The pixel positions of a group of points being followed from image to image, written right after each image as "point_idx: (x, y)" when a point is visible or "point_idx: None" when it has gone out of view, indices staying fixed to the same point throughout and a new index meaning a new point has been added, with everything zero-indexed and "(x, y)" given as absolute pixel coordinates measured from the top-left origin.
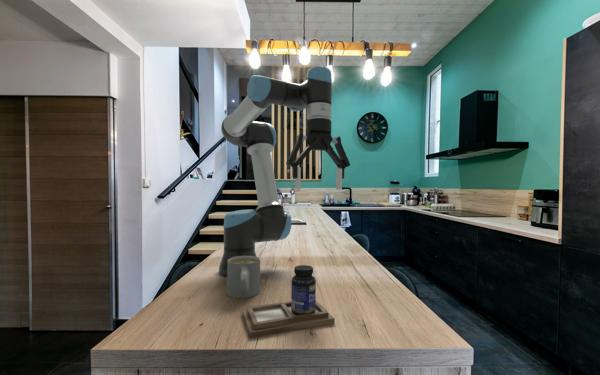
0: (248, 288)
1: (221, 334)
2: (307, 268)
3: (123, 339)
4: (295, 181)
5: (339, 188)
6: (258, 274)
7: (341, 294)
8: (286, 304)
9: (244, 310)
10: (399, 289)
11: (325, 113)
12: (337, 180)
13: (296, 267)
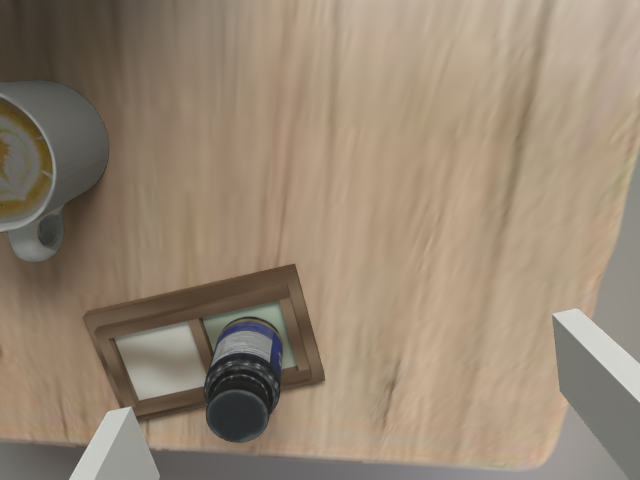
0: (65, 203)
1: (63, 397)
2: (248, 426)
3: None
4: (78, 473)
5: (563, 392)
6: (79, 179)
7: (395, 198)
8: (204, 315)
9: (89, 321)
10: (616, 171)
11: None
12: (605, 405)
13: (212, 414)
